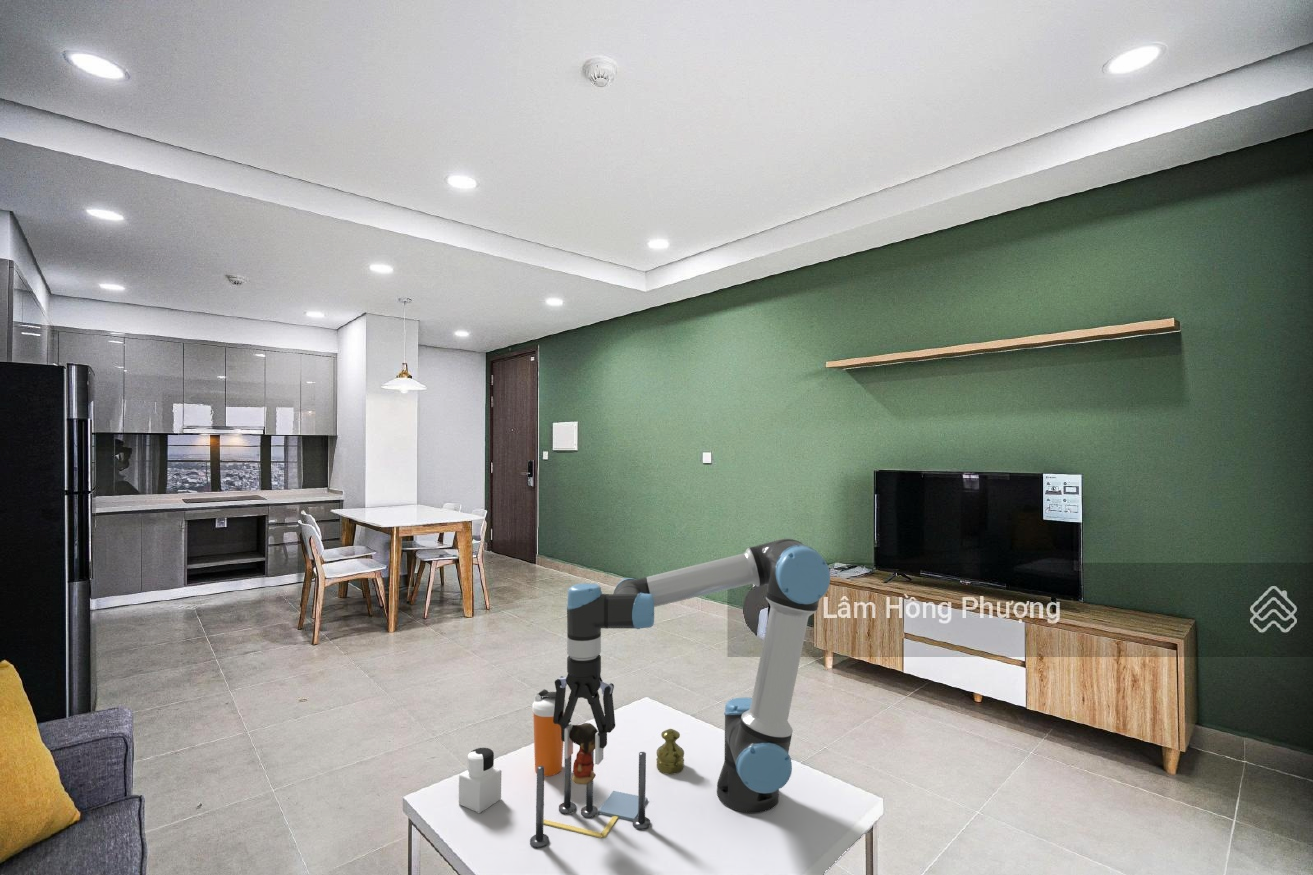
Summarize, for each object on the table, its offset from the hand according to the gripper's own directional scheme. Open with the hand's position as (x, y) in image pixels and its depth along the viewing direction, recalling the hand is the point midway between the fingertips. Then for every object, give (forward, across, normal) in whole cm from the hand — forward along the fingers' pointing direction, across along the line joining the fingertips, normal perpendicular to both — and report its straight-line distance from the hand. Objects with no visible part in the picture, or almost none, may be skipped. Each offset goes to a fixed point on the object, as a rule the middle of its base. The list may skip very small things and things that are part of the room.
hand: (583, 758), depth 138 cm
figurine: (+5, 0, 0) cm, 5 cm away
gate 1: (+16, +7, 0) cm, 18 cm away
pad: (+16, -5, -12) cm, 21 cm away
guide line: (+16, +3, -3) cm, 17 cm away
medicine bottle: (+16, +28, -2) cm, 33 cm away
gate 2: (+16, -5, -7) cm, 18 cm away
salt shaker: (+17, -9, -33) cm, 38 cm away
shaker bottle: (+16, +20, -21) cm, 33 cm away
